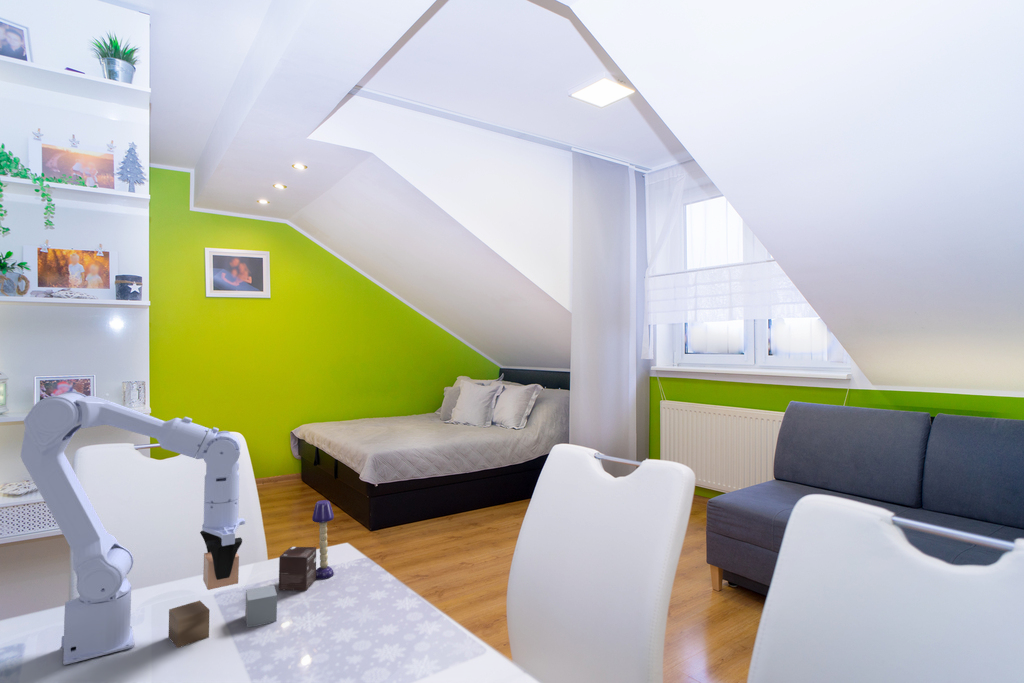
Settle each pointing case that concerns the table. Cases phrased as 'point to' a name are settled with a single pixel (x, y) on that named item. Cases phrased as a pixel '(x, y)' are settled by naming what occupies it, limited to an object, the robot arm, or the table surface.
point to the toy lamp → (323, 536)
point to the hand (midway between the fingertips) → (220, 572)
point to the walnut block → (188, 623)
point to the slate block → (261, 605)
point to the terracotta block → (209, 573)
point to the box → (297, 568)
